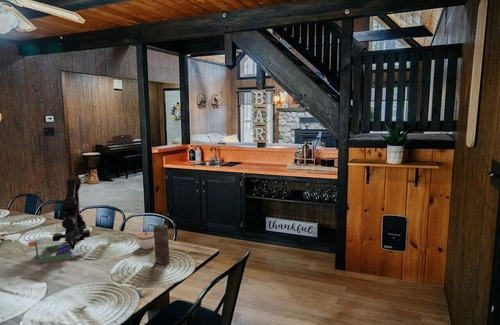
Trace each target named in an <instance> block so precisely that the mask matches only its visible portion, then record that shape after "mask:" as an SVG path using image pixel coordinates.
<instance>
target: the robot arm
mask: <svg viewBox="0 0 500 325" xmlns="http://www.w3.org/2000/svg"><path fill="white" fill-rule="evenodd" d="M64 182H65V186H66V196H65V198H64V199H63V201H62V204H61V208H60V209H61V210H60V211H61V214H60V215H61V217H64V218H63V220H62V222H61V226H62V228H63V229H65V231H64V233H65V234H62V232H59V233H58V232H57V233H54V234H53V235H52V242H59V241H61V239H64V242H67V244H70V246H71V248H70V249H71V250H74V251H75V247H76V244H77V242H78V241H83V240H84V239H85V238H90V237H91V230H90V229H87V224H86V222H85V219H84V217H83V215H82V214H81V211H80V196H79V190H80V189H81V187H82V186H81V185H82V184H83V181H82V177H80V176H68V177H67V179H65V180H64Z"/></svg>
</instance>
